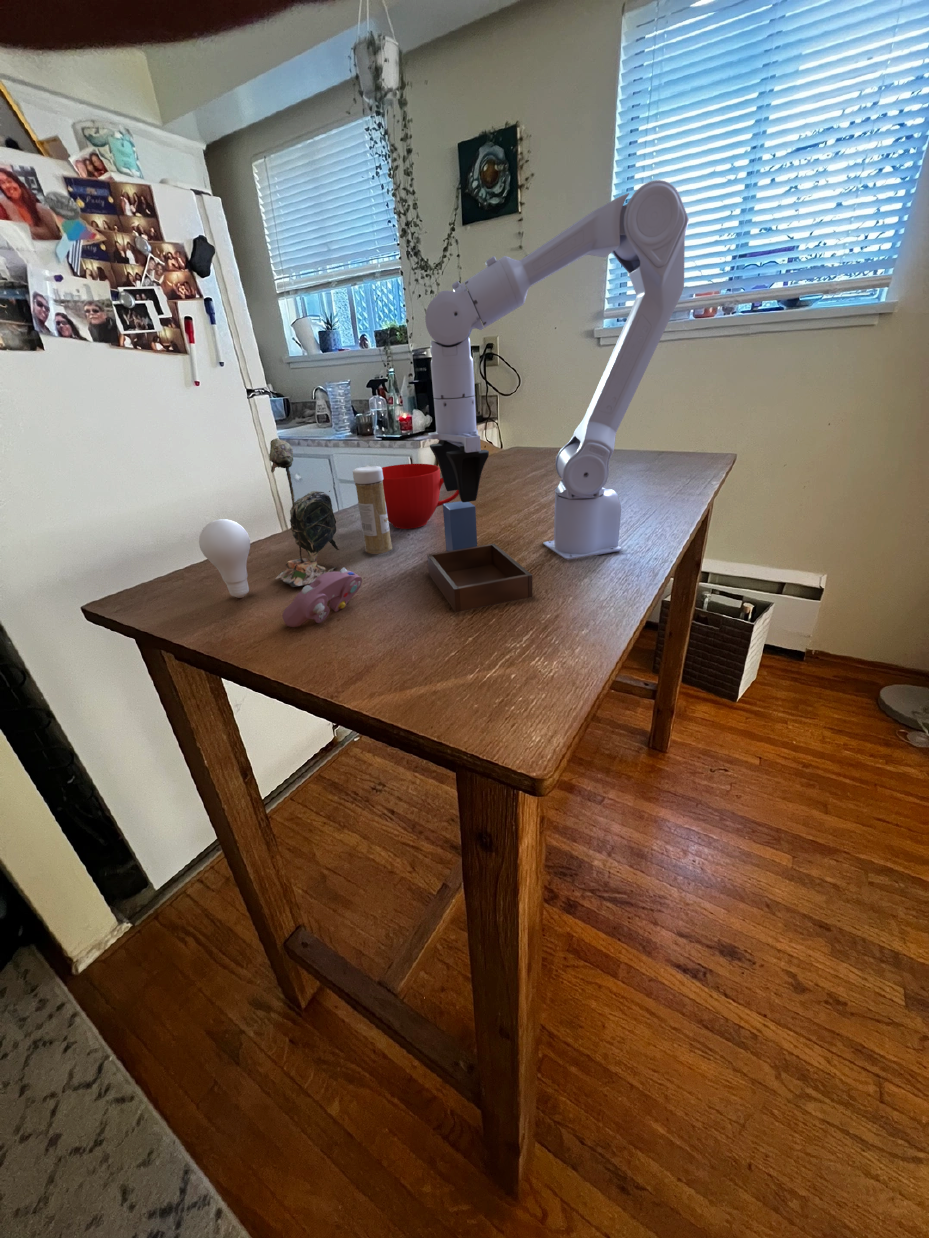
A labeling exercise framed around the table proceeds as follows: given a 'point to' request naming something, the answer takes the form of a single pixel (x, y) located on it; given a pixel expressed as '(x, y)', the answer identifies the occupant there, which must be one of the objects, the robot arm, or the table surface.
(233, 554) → the lightbulb
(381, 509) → the sprinkles bottle
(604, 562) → the table surface
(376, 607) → the table surface
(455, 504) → the peg
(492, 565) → the box
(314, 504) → the ostrich figurine
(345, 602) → the video game controller
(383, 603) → the table surface
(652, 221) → the robot arm
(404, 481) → the ceramic cup
